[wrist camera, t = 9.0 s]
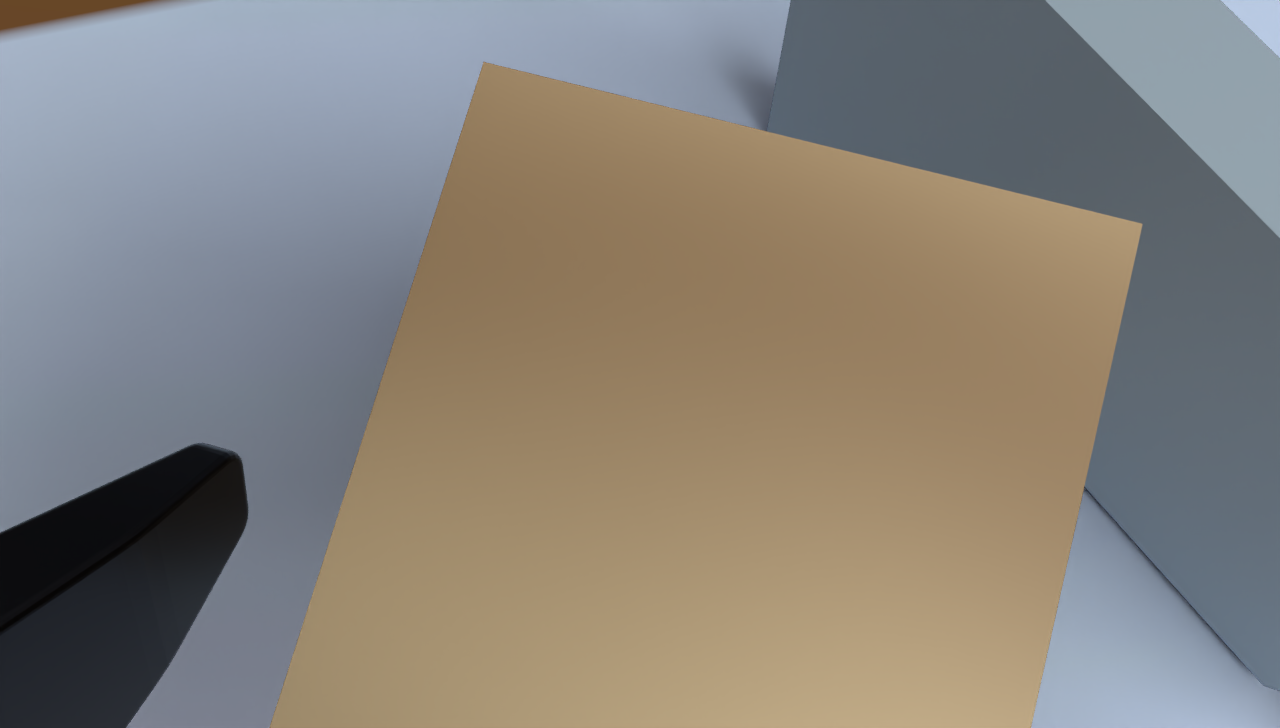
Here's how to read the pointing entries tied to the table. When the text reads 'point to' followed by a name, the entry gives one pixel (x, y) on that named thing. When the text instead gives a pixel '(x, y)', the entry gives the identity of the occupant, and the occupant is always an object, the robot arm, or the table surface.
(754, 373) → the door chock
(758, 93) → the table surface
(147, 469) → the robot arm
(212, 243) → the table surface
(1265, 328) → the door
